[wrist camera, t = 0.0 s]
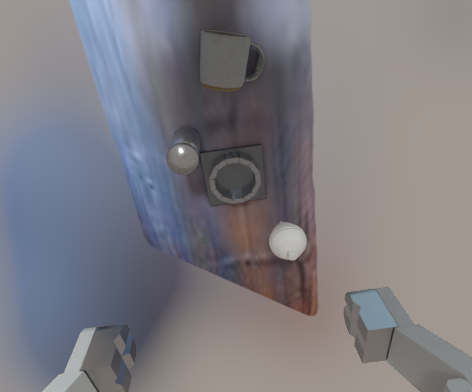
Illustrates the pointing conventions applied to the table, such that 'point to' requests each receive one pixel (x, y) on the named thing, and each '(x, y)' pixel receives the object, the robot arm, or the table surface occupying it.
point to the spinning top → (287, 241)
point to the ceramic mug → (226, 60)
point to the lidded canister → (184, 150)
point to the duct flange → (234, 174)
